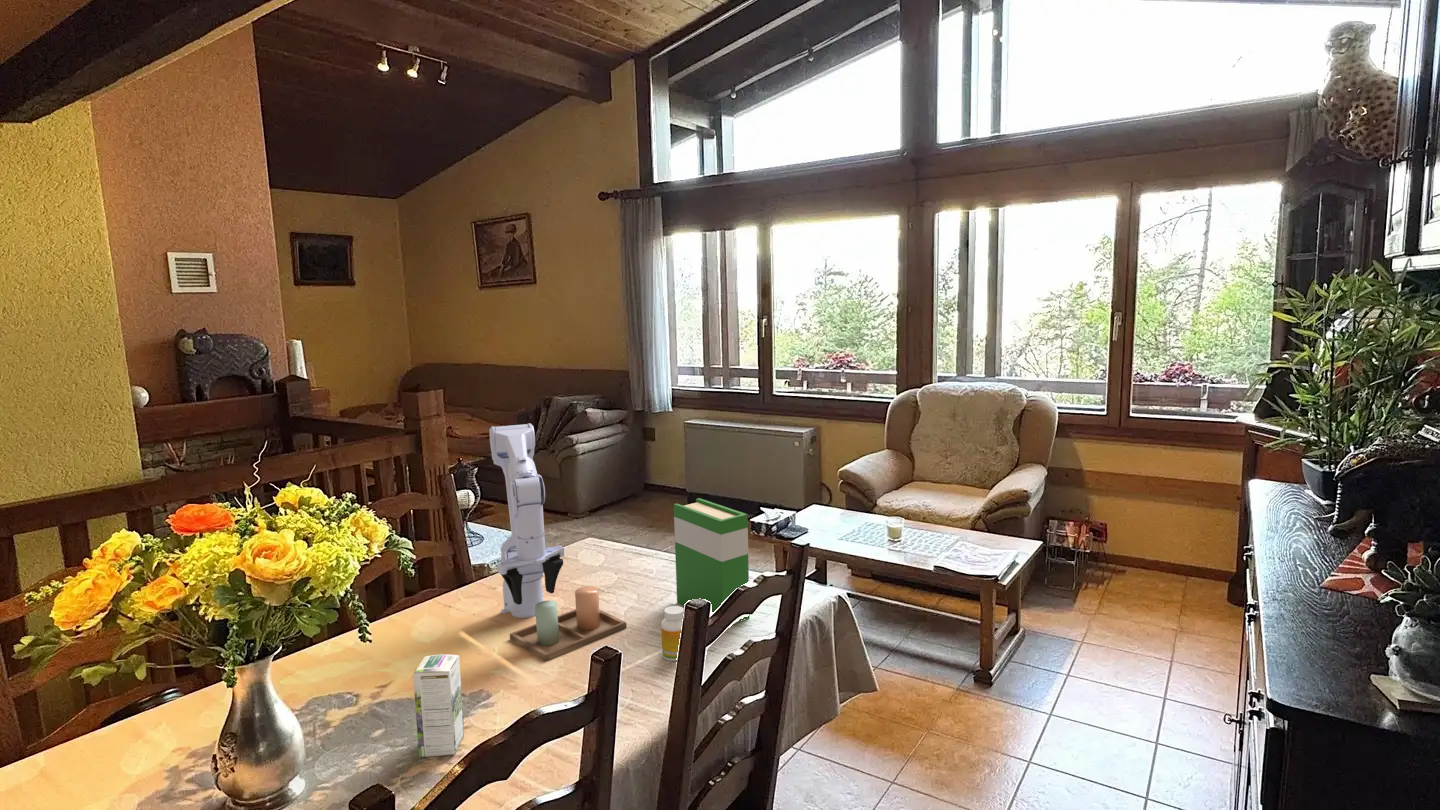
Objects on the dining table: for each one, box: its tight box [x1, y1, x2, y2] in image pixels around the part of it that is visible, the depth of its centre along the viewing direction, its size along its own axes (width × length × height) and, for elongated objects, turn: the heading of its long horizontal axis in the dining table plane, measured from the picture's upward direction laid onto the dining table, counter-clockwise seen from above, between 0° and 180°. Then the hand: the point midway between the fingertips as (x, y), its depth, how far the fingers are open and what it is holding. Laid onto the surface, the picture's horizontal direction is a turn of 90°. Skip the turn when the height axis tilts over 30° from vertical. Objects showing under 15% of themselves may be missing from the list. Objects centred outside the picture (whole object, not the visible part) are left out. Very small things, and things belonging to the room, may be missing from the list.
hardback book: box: [673, 497, 750, 622], centre depth 168 cm, size 18×7×24 cm, turn 38°
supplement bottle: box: [660, 605, 685, 662], centre depth 148 cm, size 5×5×10 cm
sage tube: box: [535, 600, 559, 646], centre depth 154 cm, size 4×4×8 cm
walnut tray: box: [509, 608, 627, 662], centre depth 158 cm, size 14×20×2 cm
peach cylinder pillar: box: [574, 585, 600, 631], centre depth 161 cm, size 5×5×8 cm
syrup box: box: [412, 654, 465, 758], centre depth 119 cm, size 6×6×14 cm
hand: (534, 597), depth 154 cm, fingers open, 7 cm apart
